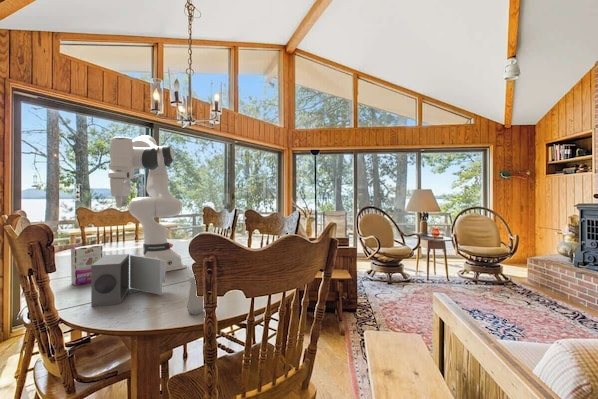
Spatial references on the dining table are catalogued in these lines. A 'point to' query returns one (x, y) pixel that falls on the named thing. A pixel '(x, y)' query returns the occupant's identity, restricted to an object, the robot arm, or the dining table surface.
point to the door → (147, 274)
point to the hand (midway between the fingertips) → (121, 207)
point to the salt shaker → (194, 299)
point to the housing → (109, 279)
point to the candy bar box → (84, 262)
